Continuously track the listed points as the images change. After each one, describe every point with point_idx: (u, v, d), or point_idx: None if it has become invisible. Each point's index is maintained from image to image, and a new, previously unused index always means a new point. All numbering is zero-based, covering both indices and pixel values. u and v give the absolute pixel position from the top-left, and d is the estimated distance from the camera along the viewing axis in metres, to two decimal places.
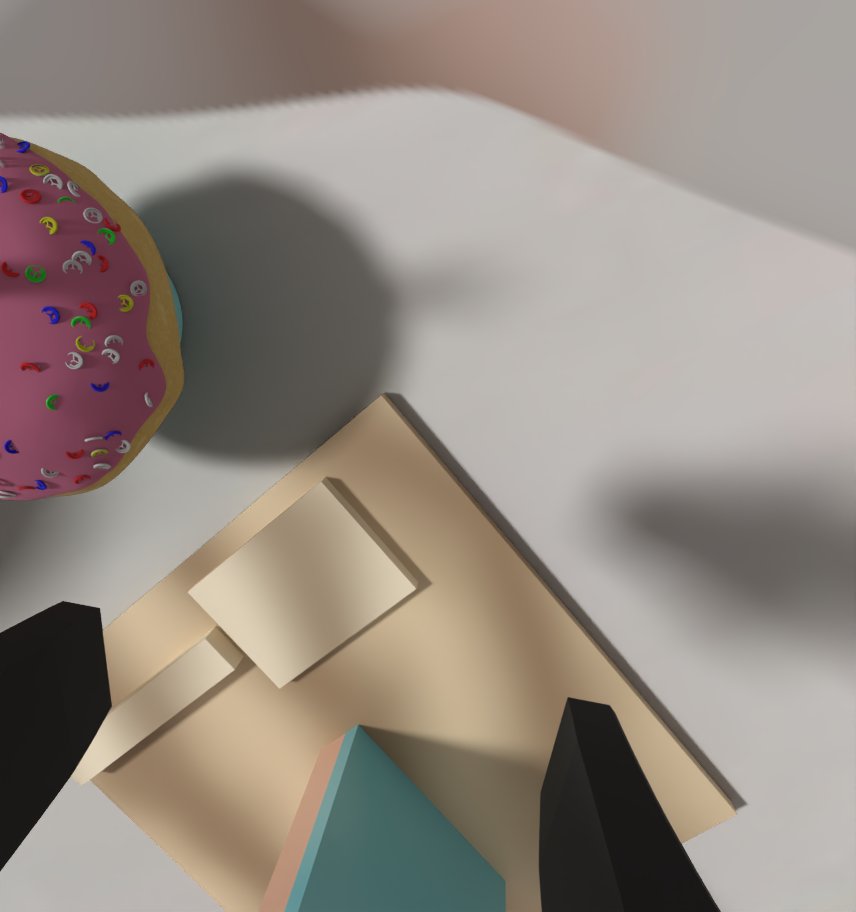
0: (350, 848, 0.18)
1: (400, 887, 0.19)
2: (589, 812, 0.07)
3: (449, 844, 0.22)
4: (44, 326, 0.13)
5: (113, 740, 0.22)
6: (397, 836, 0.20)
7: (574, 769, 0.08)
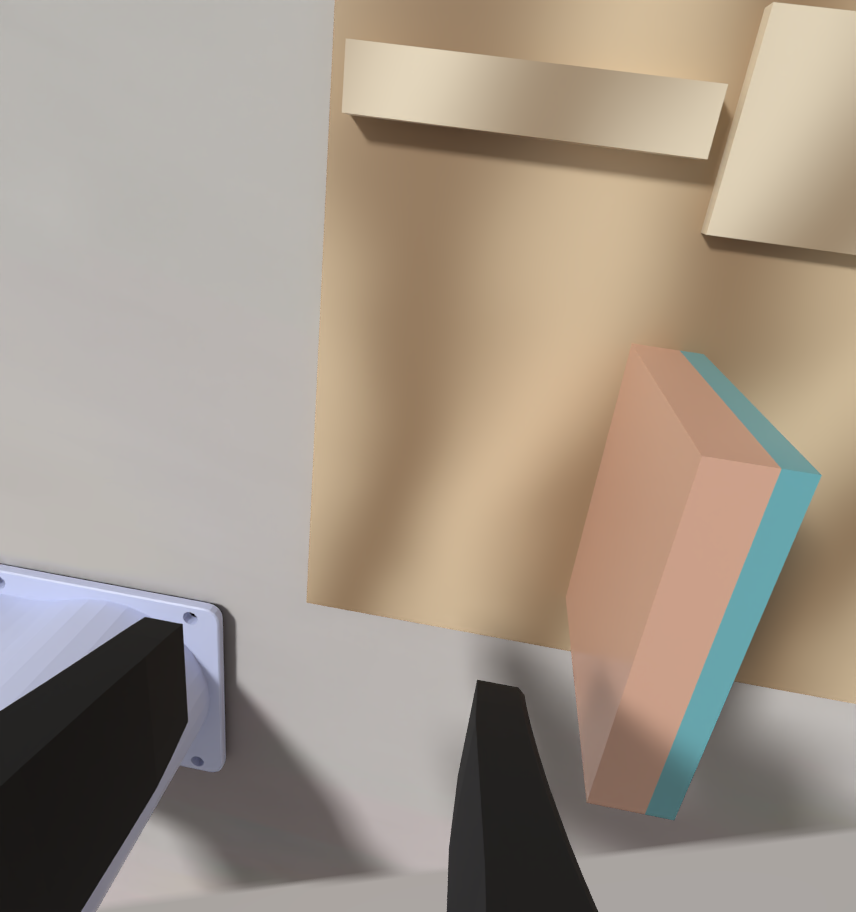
0: None
1: None
2: (476, 789, 0.07)
3: None
4: None
5: (455, 95, 0.14)
6: None
7: (472, 749, 0.08)
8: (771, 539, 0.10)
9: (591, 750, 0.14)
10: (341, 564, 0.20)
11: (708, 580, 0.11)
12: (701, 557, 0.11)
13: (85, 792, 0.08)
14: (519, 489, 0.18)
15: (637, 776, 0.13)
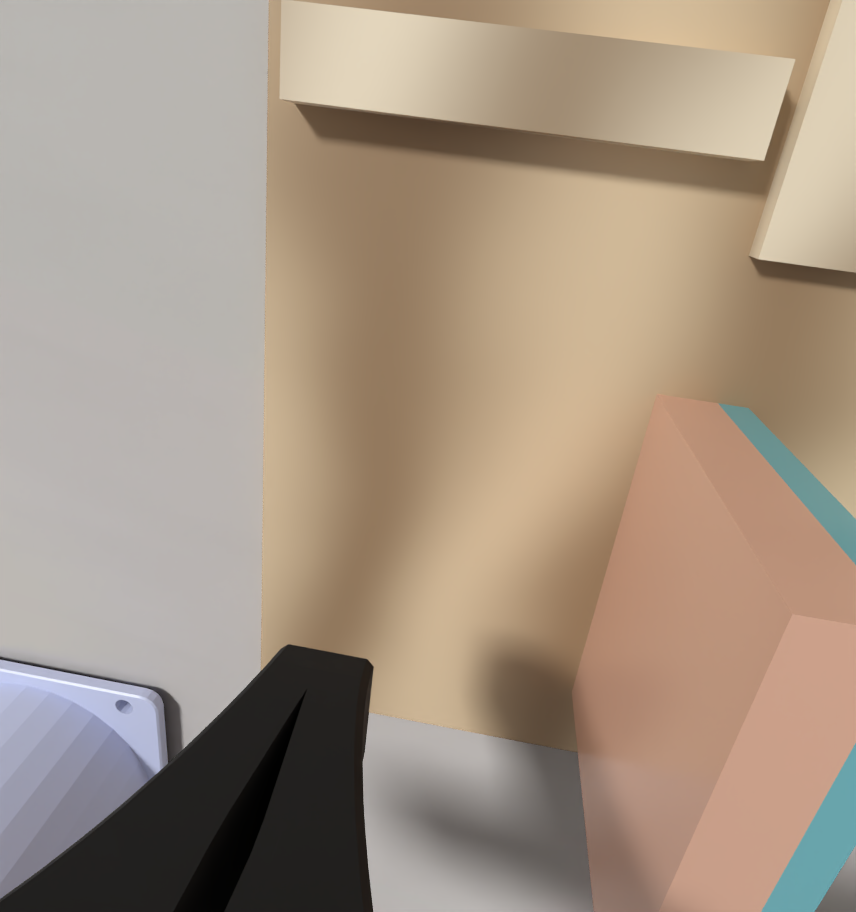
0: None
1: None
2: None
3: None
4: None
5: (428, 75, 0.10)
6: None
7: None
8: None
9: None
10: None
11: (791, 778, 0.07)
12: (782, 749, 0.07)
13: None
14: (515, 567, 0.15)
15: None
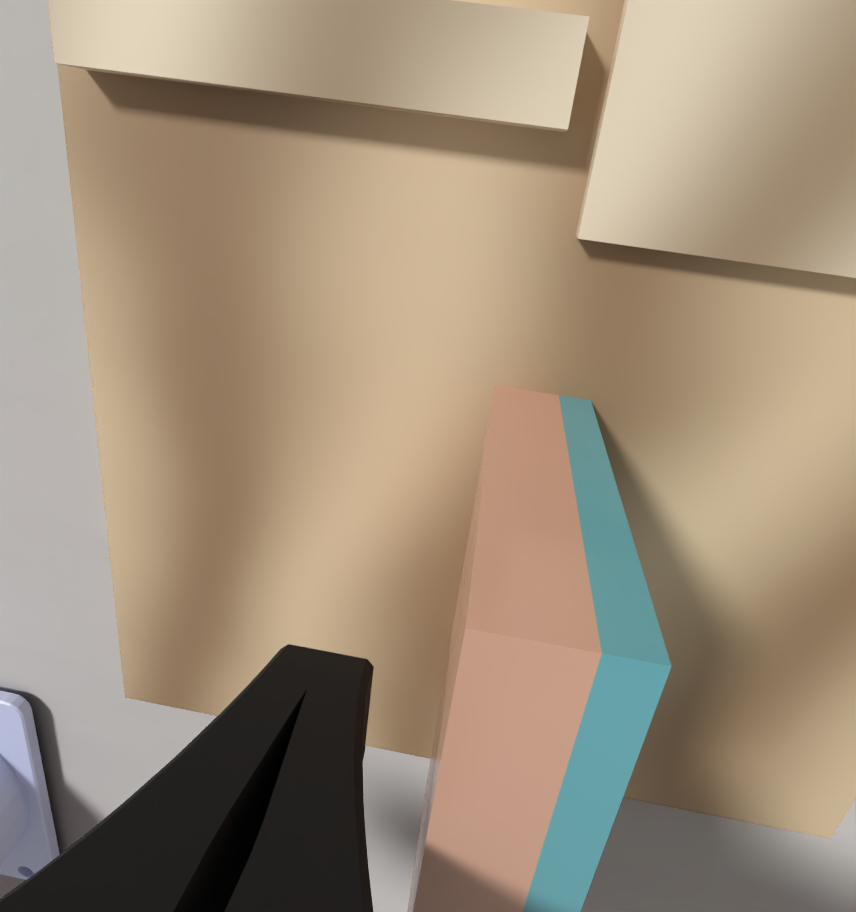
0: None
1: None
2: None
3: None
4: None
5: (206, 36, 0.10)
6: None
7: None
8: (598, 757, 0.06)
9: None
10: (160, 654, 0.16)
11: (507, 810, 0.07)
12: (490, 778, 0.06)
13: None
14: (368, 568, 0.14)
15: None
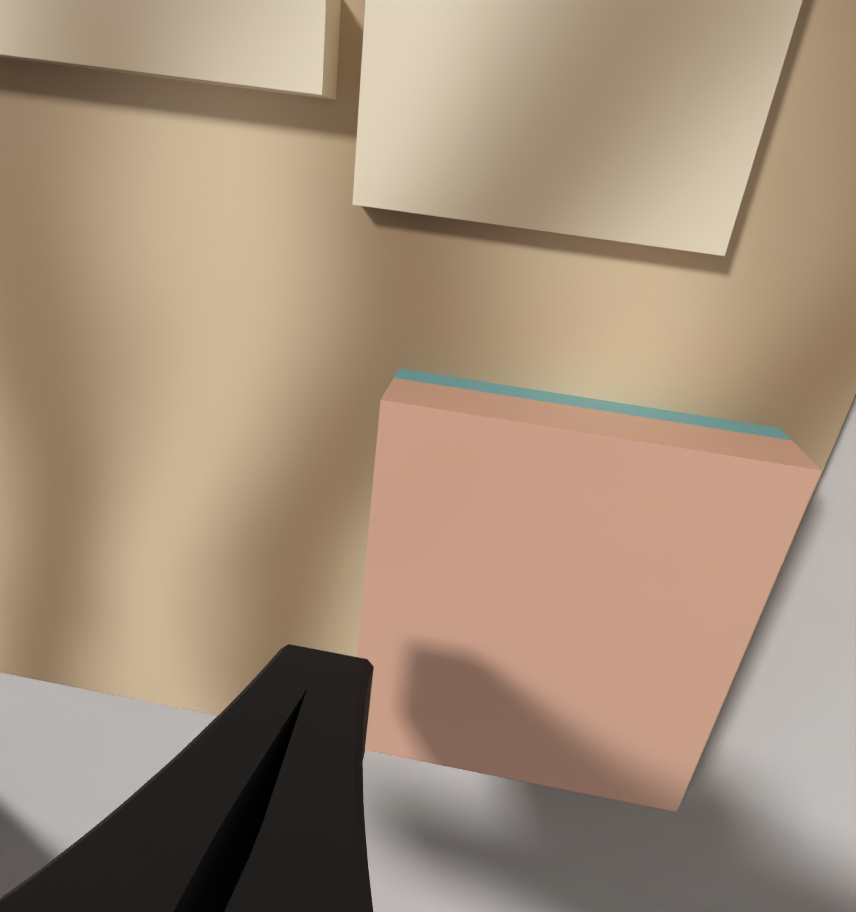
0: None
1: None
2: None
3: None
4: None
5: None
6: None
7: None
8: None
9: (653, 781, 0.13)
10: (21, 626, 0.16)
11: None
12: None
13: None
14: (206, 539, 0.14)
15: None
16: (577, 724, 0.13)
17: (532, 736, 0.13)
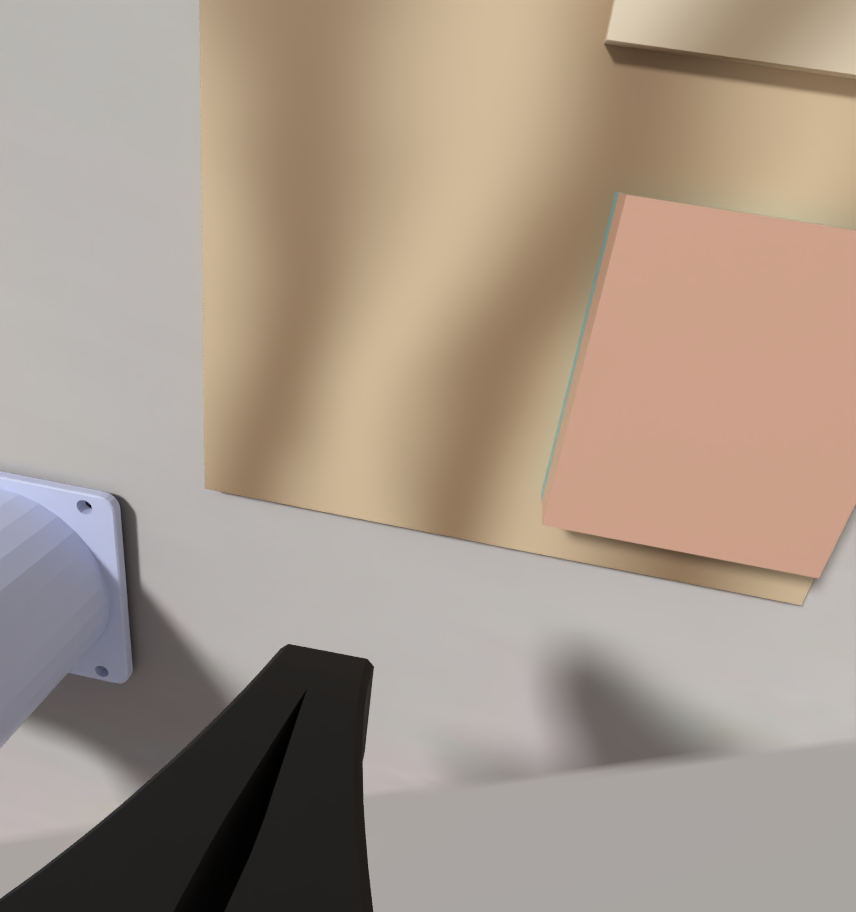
0: None
1: None
2: None
3: None
4: None
5: None
6: None
7: None
8: None
9: (803, 548, 0.16)
10: (239, 444, 0.19)
11: None
12: None
13: None
14: (421, 354, 0.17)
15: None
16: (745, 495, 0.15)
17: (705, 508, 0.16)
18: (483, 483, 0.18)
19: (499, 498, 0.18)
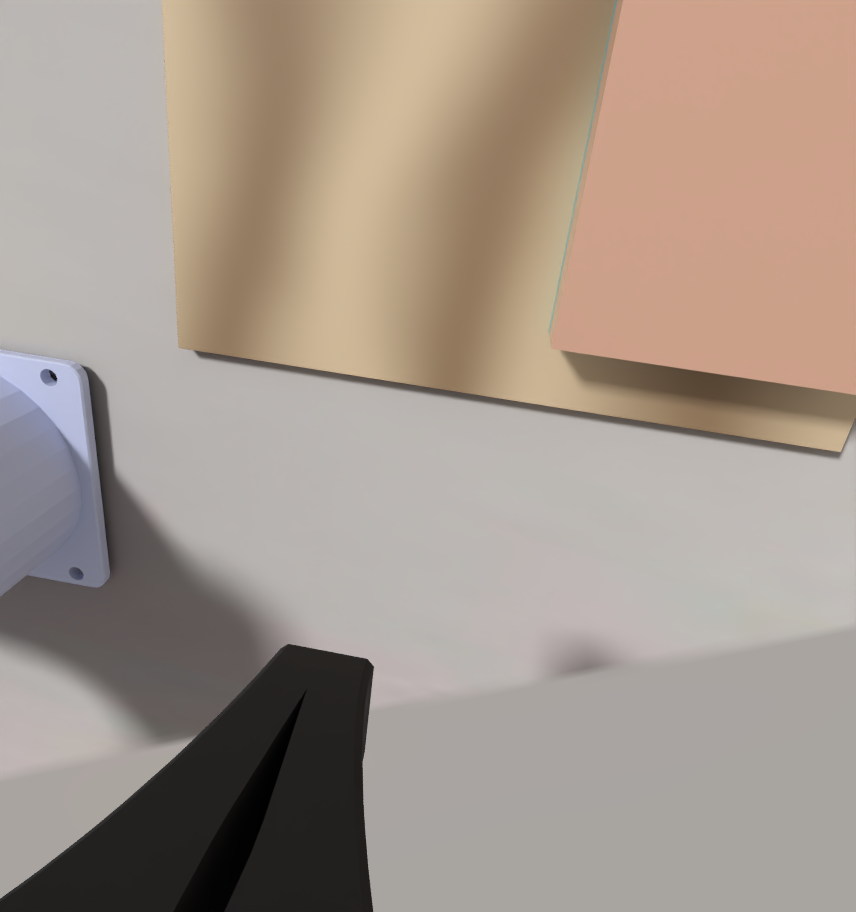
0: None
1: None
2: None
3: None
4: None
5: None
6: None
7: None
8: None
9: (847, 359, 0.14)
10: (213, 290, 0.17)
11: None
12: None
13: None
14: (412, 166, 0.15)
15: None
16: (781, 295, 0.14)
17: (735, 315, 0.14)
18: (484, 323, 0.16)
19: (502, 340, 0.17)
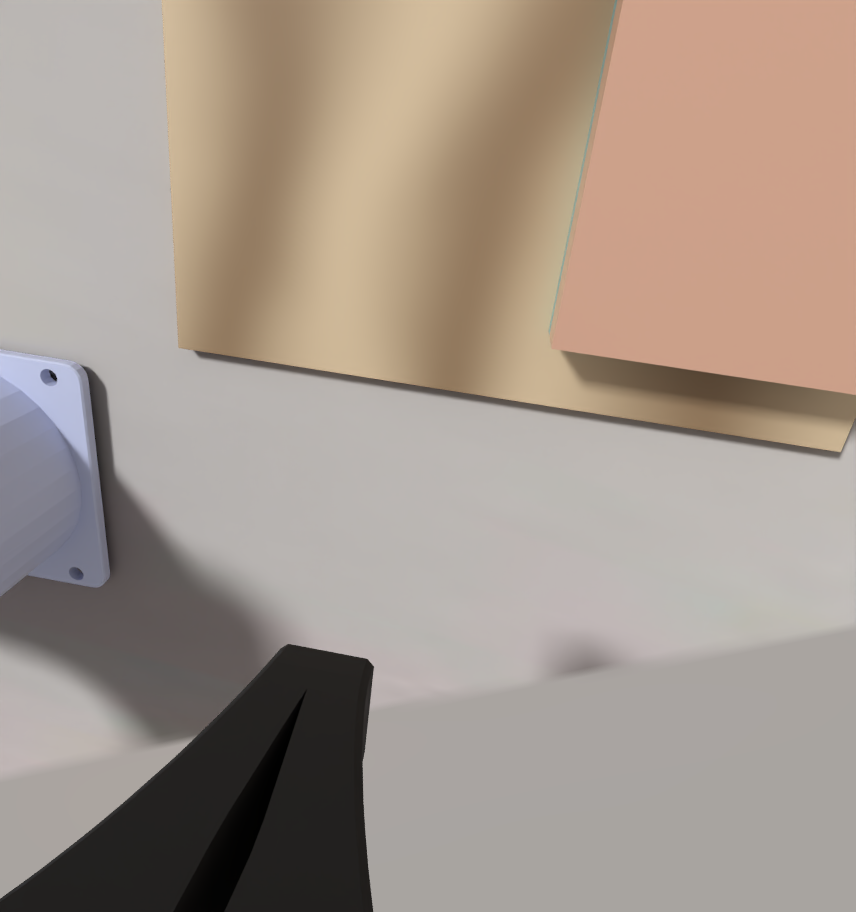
0: None
1: None
2: None
3: None
4: None
5: None
6: None
7: None
8: None
9: (847, 359, 0.14)
10: (213, 290, 0.17)
11: None
12: None
13: None
14: (412, 166, 0.15)
15: None
16: (781, 295, 0.14)
17: (735, 315, 0.14)
18: (484, 323, 0.16)
19: (502, 340, 0.17)
